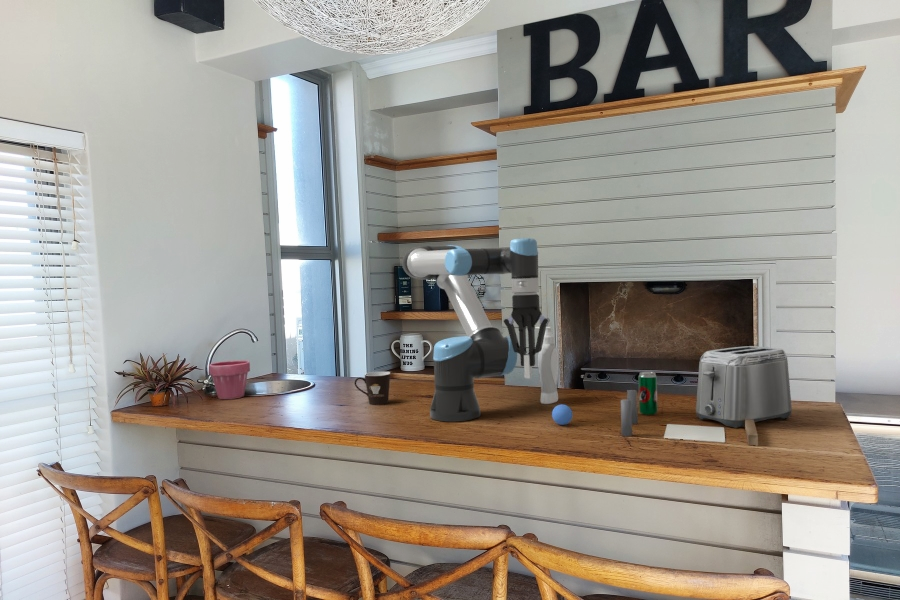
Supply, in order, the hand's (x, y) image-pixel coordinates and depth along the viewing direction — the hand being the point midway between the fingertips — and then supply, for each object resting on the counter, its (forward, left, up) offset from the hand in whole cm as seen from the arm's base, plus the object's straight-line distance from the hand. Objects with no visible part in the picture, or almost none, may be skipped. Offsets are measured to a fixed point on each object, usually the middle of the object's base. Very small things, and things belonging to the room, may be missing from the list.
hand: (528, 377), depth 173 cm
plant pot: (-117, +9, -13) cm, 118 cm away
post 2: (+27, +7, -13) cm, 31 cm away
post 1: (+27, -6, -13) cm, 31 cm away
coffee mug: (-58, +13, -13) cm, 61 cm away
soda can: (+30, +19, -13) cm, 38 cm away
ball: (+9, 0, -10) cm, 14 cm away
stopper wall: (+56, 0, -13) cm, 58 cm away
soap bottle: (-3, +29, -13) cm, 32 cm away
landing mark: (+43, 0, -13) cm, 45 cm away
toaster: (+56, +20, -13) cm, 61 cm away
